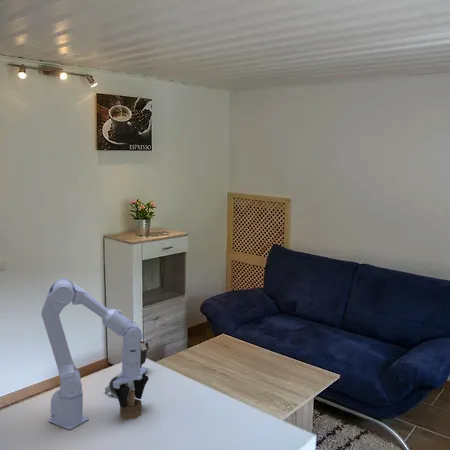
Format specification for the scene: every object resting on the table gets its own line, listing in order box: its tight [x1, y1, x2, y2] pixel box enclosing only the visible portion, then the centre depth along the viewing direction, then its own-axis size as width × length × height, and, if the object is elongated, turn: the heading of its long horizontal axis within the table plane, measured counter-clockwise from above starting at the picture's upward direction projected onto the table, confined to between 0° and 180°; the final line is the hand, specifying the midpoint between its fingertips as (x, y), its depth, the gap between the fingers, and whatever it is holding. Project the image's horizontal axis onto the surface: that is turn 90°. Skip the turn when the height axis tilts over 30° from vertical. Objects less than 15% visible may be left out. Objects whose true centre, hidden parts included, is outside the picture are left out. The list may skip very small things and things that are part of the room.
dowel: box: [127, 389, 136, 406], centre depth 154 cm, size 2×2×8 cm
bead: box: [119, 398, 143, 420], centre depth 155 cm, size 7×7×4 cm
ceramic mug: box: [104, 371, 134, 399], centre depth 170 cm, size 11×8×8 cm
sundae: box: [140, 340, 150, 368], centre depth 187 cm, size 7×7×15 cm
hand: (130, 402), depth 155 cm, fingers open, 7 cm apart
